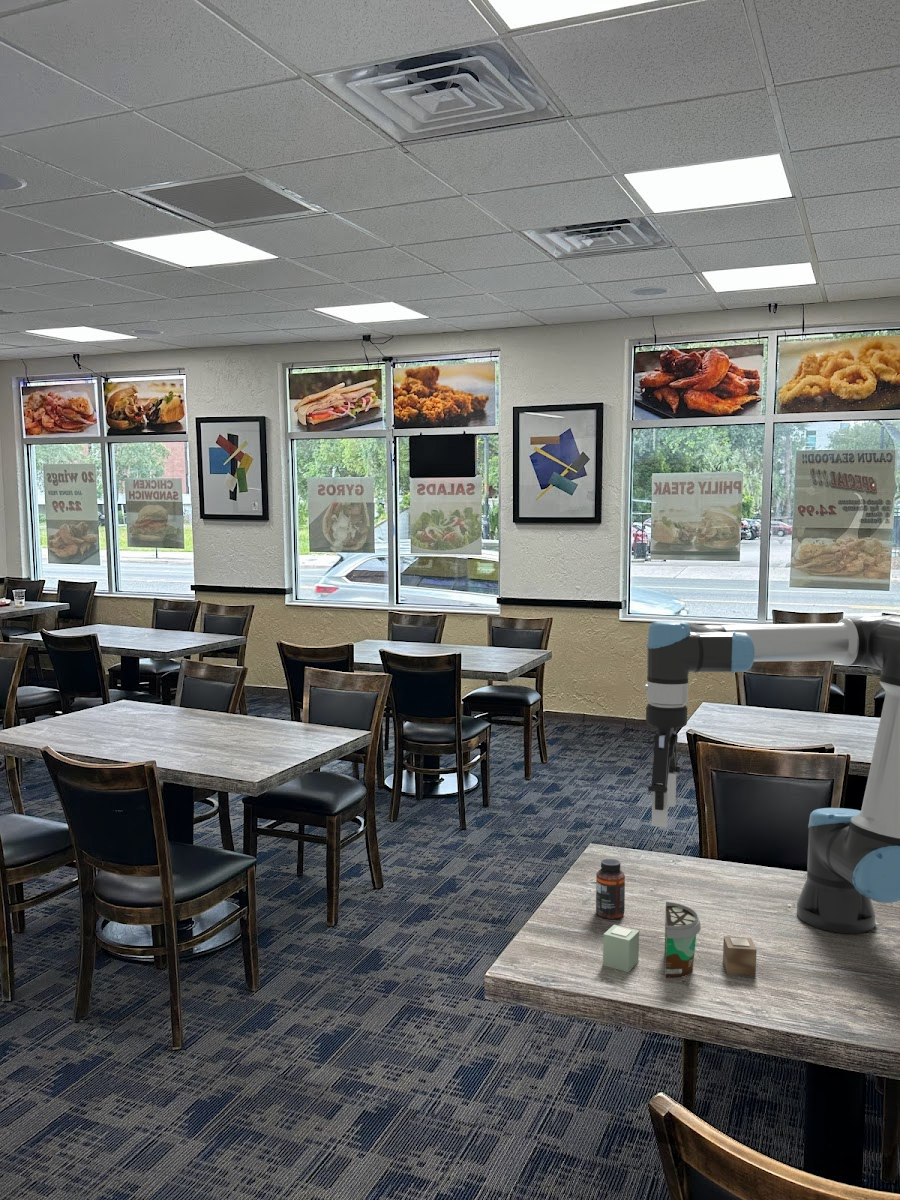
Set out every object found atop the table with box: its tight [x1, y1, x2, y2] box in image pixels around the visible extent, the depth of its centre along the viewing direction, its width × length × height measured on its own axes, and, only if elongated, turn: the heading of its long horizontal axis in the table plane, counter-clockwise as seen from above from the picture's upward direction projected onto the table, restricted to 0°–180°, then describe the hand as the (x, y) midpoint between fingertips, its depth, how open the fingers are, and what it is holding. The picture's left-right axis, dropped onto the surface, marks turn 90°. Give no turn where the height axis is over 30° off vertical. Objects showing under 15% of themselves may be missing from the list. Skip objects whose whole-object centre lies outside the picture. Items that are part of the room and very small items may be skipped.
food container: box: [664, 901, 702, 979], centre depth 173 cm, size 12×6×10 cm, turn 168°
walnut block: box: [722, 935, 757, 977], centre depth 174 cm, size 5×5×5 cm
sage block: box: [602, 924, 640, 973], centre depth 175 cm, size 5×5×6 cm
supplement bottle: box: [595, 858, 626, 920], centre depth 197 cm, size 6×6×11 cm
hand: (663, 815), depth 177 cm, fingers open, 13 cm apart
